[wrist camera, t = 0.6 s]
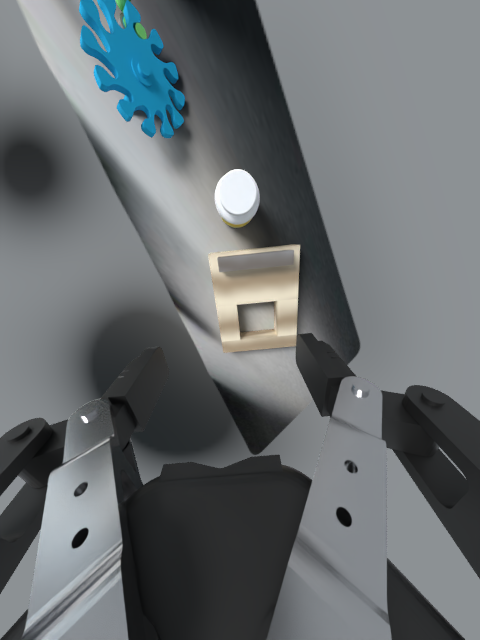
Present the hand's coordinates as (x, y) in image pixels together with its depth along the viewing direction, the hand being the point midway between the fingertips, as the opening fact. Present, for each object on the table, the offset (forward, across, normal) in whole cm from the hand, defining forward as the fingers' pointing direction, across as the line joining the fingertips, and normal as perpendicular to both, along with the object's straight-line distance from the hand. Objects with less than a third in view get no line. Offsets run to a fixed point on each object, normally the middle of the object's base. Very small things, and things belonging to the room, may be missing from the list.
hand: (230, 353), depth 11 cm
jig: (+23, -4, +5) cm, 24 cm away
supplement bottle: (+24, -2, -10) cm, 26 cm away
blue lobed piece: (+24, +8, -23) cm, 34 cm away
